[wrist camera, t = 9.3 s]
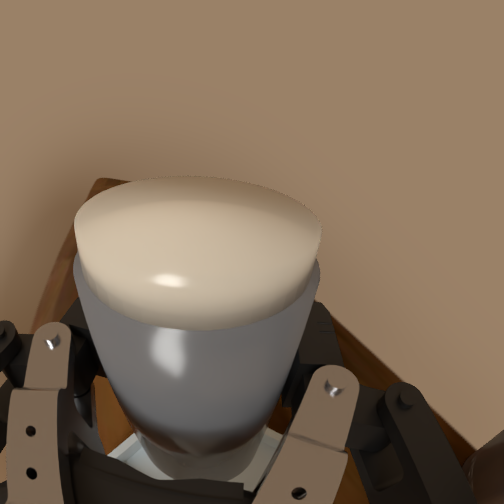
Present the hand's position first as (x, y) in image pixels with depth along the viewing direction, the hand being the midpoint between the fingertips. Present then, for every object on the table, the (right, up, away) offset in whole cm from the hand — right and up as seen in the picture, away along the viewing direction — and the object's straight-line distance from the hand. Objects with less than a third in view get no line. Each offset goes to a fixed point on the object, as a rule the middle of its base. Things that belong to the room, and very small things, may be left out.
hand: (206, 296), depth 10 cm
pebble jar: (-1, -7, +1) cm, 7 cm away
